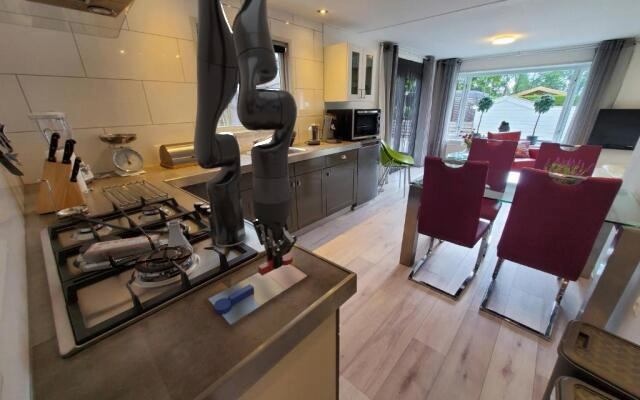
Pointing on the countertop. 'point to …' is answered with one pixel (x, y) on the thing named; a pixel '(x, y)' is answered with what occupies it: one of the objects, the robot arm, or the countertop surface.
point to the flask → (176, 235)
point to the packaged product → (118, 251)
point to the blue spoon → (232, 300)
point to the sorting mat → (260, 290)
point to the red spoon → (268, 265)
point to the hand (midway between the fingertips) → (275, 264)
